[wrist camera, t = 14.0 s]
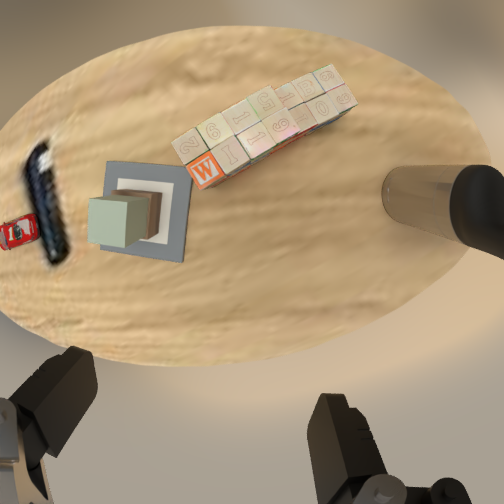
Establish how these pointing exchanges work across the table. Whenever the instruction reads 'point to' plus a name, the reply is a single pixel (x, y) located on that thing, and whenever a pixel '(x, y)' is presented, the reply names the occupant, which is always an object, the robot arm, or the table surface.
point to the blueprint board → (176, 207)
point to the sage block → (117, 220)
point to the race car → (19, 231)
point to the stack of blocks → (262, 125)
